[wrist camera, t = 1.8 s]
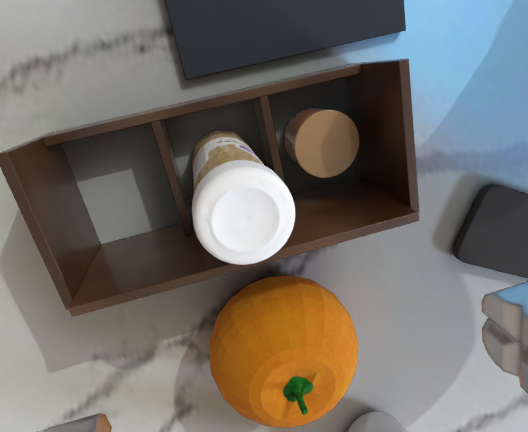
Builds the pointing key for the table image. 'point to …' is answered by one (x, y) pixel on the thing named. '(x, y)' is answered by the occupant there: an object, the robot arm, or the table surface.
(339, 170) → the spice tin
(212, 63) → the rubber mat
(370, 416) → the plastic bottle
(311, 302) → the fruit
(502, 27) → the table surface
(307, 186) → the table surface
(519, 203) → the phone
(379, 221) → the spice rack
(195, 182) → the sprinkles bottle
